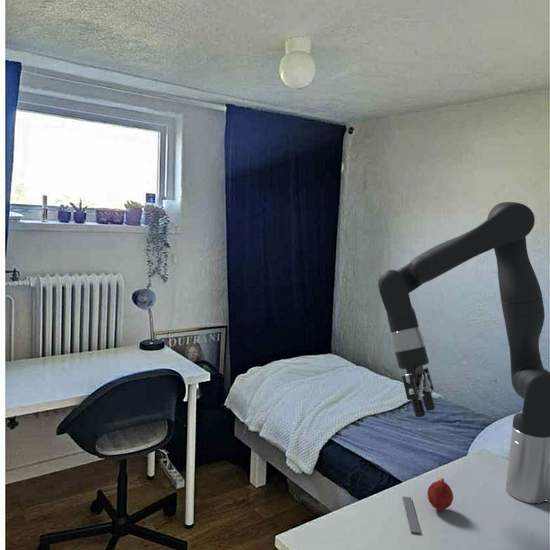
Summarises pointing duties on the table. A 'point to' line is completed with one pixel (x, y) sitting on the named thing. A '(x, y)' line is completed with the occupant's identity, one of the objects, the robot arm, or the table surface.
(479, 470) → the table surface
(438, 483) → the onion
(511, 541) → the table surface
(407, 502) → the flat gray rectangular bar
